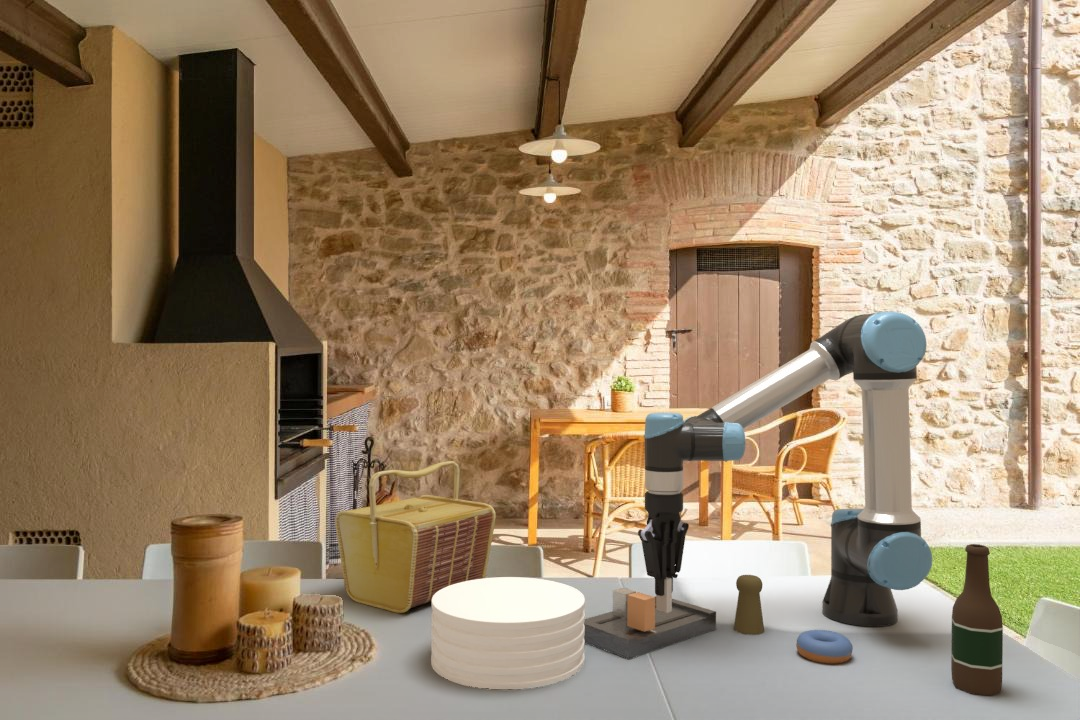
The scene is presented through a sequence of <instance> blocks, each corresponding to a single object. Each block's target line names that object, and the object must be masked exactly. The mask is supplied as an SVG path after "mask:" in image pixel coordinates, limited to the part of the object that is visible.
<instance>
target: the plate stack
mask: <svg viewBox="0 0 1080 720" xmlns="http://www.w3.org/2000/svg"><path fill="white" fill-rule="evenodd" d="M585 607H586V597H585V595H584V594H583V593H582V592H581V591H580V590H579V589H577V588H576V587H573V586H571V585H568V584H565V583H561V582H558V581H553V580H550V579H542V578H534V577H525V576H524V577H523V576H522V577H521V576H520V577H519V576H501V577H500V576H499V577H485V578H483V579H475V580H469V581H464V582H460V583H456V584H453V585H450V586H447V587H445V588H443V589H441V590H439V591H438V592H436V593H435V594H434V595H433V597H432V601H431V610H432V611H431V629H430V630H431V631H430V633H431V634H430V635H431V642H430V645H431V647H430V650H431V656H430V662H431V663H430V664H431V667H432V669H433V670H434V672H435V673H437V675H439V676H440V677H442V678H443V677H444V679H446V680H447V679H448V681H450V682H452V683H454V684H458V685H462V686H465V687H469V686H470V687H469V688H475V687H478V688H477V689H481V688H489V689H488V690H491V689H521V688H528V687H536V686H540V685H545V684H550V683H553V682H557V681H560V680H563V679H565V678H568V677H570V676H571V675H573V674H575V673H576V672H577V671H579V670H580V669H581V668H582V669H583V667H584V666H583V664H584V665H585V661H584V660H585V650H586V649H585V644H586V643H585V640H584V635H585V626H584V622H585V619H586V615H585V613H586V612H585ZM582 666H583V667H582ZM582 669H581V670H582ZM581 670H580V671H581ZM580 671H579V672H580ZM575 675H576V674H575ZM570 678H571V677H570ZM568 679H569V678H568ZM471 686H472V687H471ZM521 690H522V689H521Z"/></svg>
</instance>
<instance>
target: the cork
mask: <svg viewBox="0 0 1080 720" xmlns="http://www.w3.org/2000/svg"><path fill="white" fill-rule="evenodd" d="M735 584H736V585H735V586H736V589H737V590H738V596H737V602H736V611H735V618H734V626H733V630H734V631H736V633H740V634H742V635H750V636H751V635H752V636H755V635H761V634H764V632H765V626H764V619H763V611H762V610H763V609H762V602H761V592H762V589H763V581H762V579H761V578H760V577H759V576H757V575H752V574H742V575H739V576H738V577H737V579H736V582H735Z"/></svg>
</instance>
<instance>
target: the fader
mask: <svg viewBox="0 0 1080 720" xmlns="http://www.w3.org/2000/svg"><path fill="white" fill-rule="evenodd" d="M627 626H629V627H632V628H635V629H638V630H641V631H644V632H645V631H648V630H651V629H655V596H653V595H649V594H647V593H643V592H638V591H637V592H636V593H633V594H629V595H628V601H627Z"/></svg>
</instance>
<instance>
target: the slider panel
mask: <svg viewBox="0 0 1080 720" xmlns="http://www.w3.org/2000/svg"><path fill="white" fill-rule="evenodd" d="M633 593H636V591H635V590H633V589H628V588H626V587H621V588H618V589H613V590H612V611H609V612H605V613H602V614H597V615H595V616H592V617H588V618H585V622H584V626H585V635H584V640H585V642H586V643H585V644H588V645H590V644H591V646H593V645H594V646H593V647H595V646H596V648H598V647H599V648H598V649H601V648H602V649H601V650H603V649H605V650H604V651H606V650H607V651H606V652H608V651H610V652H609V653H611V652H612V653H611V654H613V653H615V654H614V655H616V654H617V656H619V655H620V656H619V657H621V656H623V657H622V658H624V657H625V658H624V659H626V658H627V660H631V659H634V658H636V656H637V657H639V656H642V655H645V654H648V653H651V652H653V651H656V650H660V649H663V648H667V647H668V646H671V645H674V644H677V643H680V642H683V641H686V640H688V639H691V638H694V637H695V638H696V637H697V636H700V635H704V634H707V633H709V632H712V631H715V630H716V629H717V611H715V610H713V609H708V608H704V607H701V606H698V605H694V604H692V603H688V602H685V601H681V600H679V599H675V598H672V612H668V613H665V612H662V611H659V610H656V595H655V596H654V597H655V629H651V630H648V631H645V632H644V631H641V630H638V629H635V628H632V627H629V626H627V601H628V595H629V594H633ZM633 657H634V658H633ZM630 658H631V659H630Z"/></svg>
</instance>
